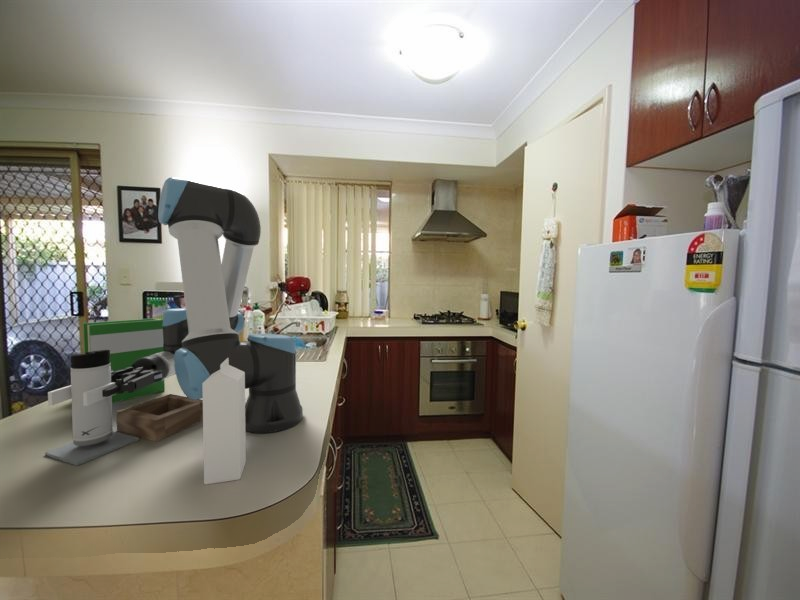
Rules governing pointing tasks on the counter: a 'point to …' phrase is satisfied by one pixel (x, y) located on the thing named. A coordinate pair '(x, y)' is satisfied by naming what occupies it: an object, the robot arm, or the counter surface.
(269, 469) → the counter surface
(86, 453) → the slate mat
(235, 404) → the milk
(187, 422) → the cup stand
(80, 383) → the travel mug
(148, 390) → the hardback book
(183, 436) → the counter surface
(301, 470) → the counter surface
